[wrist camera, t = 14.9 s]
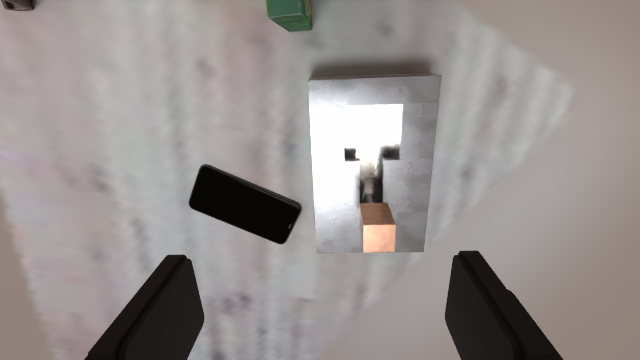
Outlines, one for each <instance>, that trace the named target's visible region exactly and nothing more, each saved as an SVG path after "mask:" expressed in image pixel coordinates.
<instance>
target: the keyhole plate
mask: <svg viewBox="0 0 640 360" xmlns="http://www.w3.org/2000/svg"><path fill="white" fill-rule="evenodd" d="M440 85H441V75H437V74H432V73H412V74H386V75H361V76H336V77H311V78H310V79H309V80H308V92H309V111H310V131H311V150H312V169H313V188H314V207H315V227H316V246H317V253H383V252H363V247H362V241H361V234H360V228H359V203H360V181H361V180H364V179H373V180H376V181H378V182H379V183H380V184H381V185H382V193H381V203H388V205H389V208H390V210H391V213H392V216H393V218H394V221H395V224H396V233H395V252H424V243H425V233H426V223H427V213H428V203H429V193H430V184H431V174H432V164H433V154H434V144H435V134H436V124H437V114H438V104H439V95H440Z"/></svg>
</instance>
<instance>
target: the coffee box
mask: <svg viewBox="0 0 640 360" xmlns="http://www.w3.org/2000/svg"><path fill="white" fill-rule="evenodd" d="M265 3H266V9H267V16H268V18H269V19H271V20H272V21H274V22H275V23H277V24H278V25H280V26H281V27H283V28H284V29H286V30H287V31H289V32H298V31H308V30H312V20H311V8H310V0H265Z"/></svg>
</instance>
